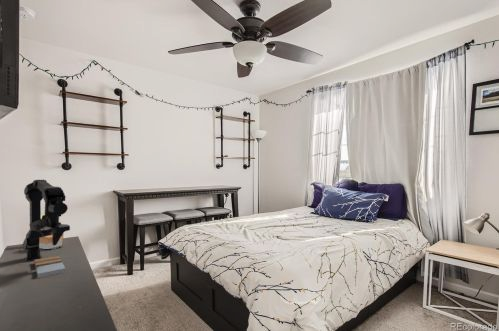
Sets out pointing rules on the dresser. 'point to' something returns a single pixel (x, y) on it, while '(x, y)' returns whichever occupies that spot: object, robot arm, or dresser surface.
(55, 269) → the slate stand
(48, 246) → the housing base
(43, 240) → the cover
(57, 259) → the walnut stand
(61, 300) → the dresser surface
